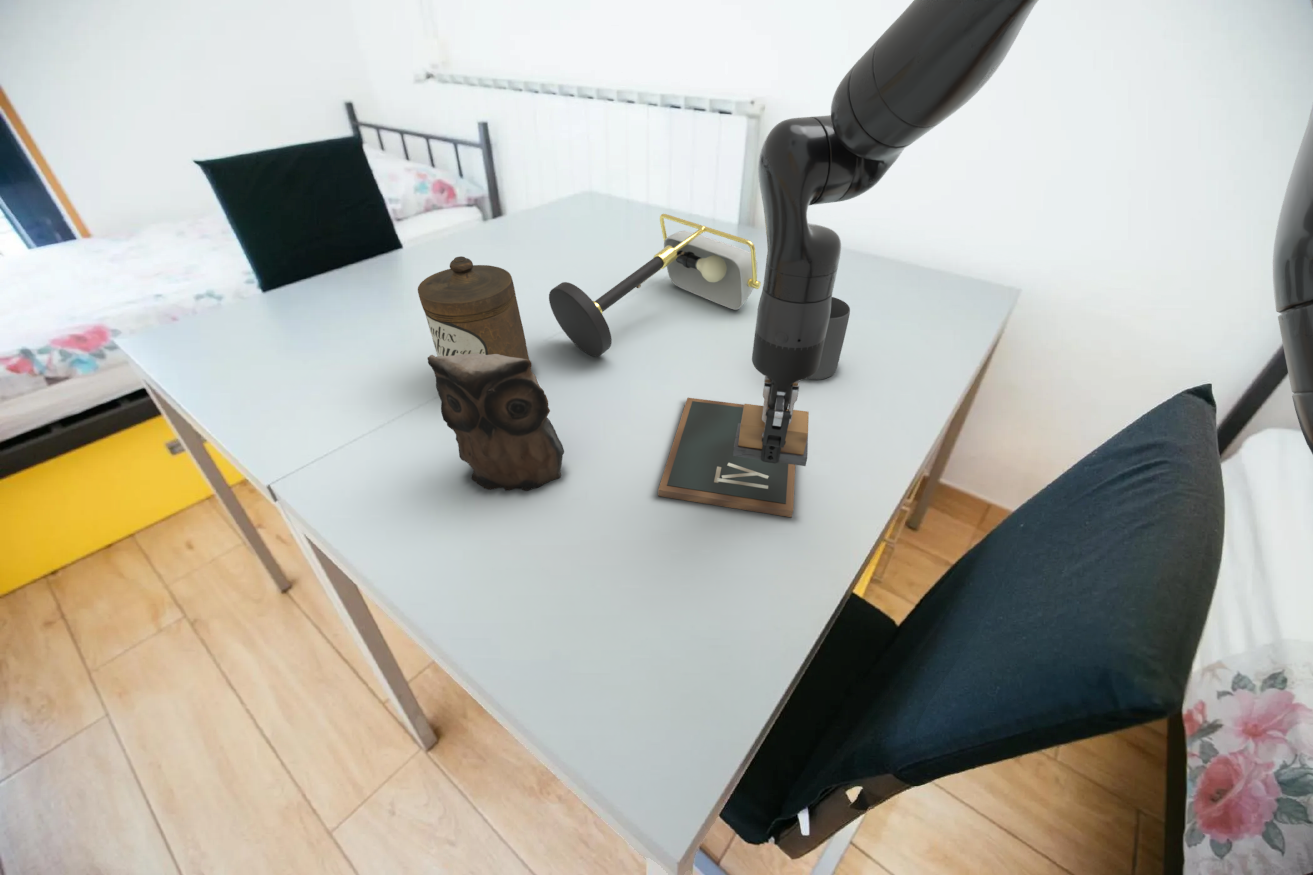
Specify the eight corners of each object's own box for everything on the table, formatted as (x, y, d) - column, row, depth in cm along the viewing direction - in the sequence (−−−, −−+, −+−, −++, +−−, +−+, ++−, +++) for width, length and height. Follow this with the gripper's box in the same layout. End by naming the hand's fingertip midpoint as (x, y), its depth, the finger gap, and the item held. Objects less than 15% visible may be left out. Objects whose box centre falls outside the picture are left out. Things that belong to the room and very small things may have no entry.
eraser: (806, 441, 71) (812, 410, 67) (805, 466, 67) (812, 435, 64) (737, 431, 72) (740, 401, 69) (732, 455, 69) (736, 425, 65)
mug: (800, 348, 104) (811, 290, 96) (845, 365, 99) (860, 304, 92) (762, 379, 96) (771, 317, 88) (809, 398, 91) (822, 335, 84)
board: (796, 417, 87) (798, 410, 86) (791, 517, 71) (793, 509, 70) (687, 403, 91) (687, 396, 90) (658, 496, 74) (658, 488, 73)
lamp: (643, 412, 102) (774, 298, 117) (614, 316, 85) (771, 196, 100) (558, 359, 117) (684, 264, 131) (519, 268, 100) (668, 170, 114)
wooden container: (430, 382, 96) (390, 261, 82) (497, 348, 105) (471, 234, 91) (481, 413, 89) (446, 287, 75) (548, 374, 98) (529, 255, 84)
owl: (571, 479, 77) (553, 357, 64) (487, 518, 71) (448, 394, 58) (533, 433, 85) (509, 317, 72) (454, 465, 79) (414, 346, 66)
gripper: (827, 366, 52) (799, 490, 63) (825, 302, 63) (802, 416, 74) (749, 358, 54) (735, 480, 65) (761, 296, 64) (747, 409, 75)
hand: (770, 445), depth 69 cm, fingers closed on eraser, 5 cm apart
